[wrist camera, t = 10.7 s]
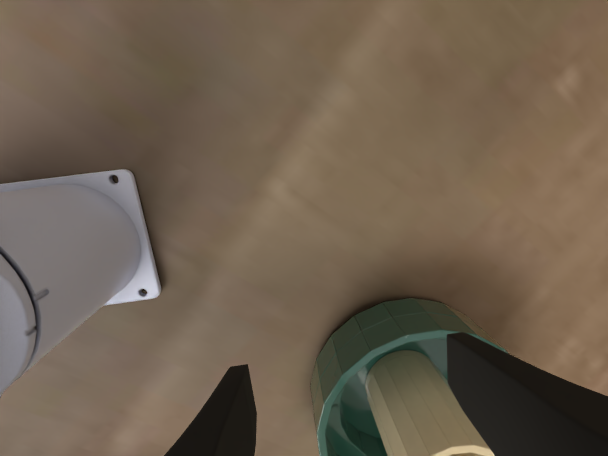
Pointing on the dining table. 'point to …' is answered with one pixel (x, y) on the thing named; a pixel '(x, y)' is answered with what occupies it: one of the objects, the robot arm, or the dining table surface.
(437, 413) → the cup
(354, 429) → the bowl
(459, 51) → the dining table surface
